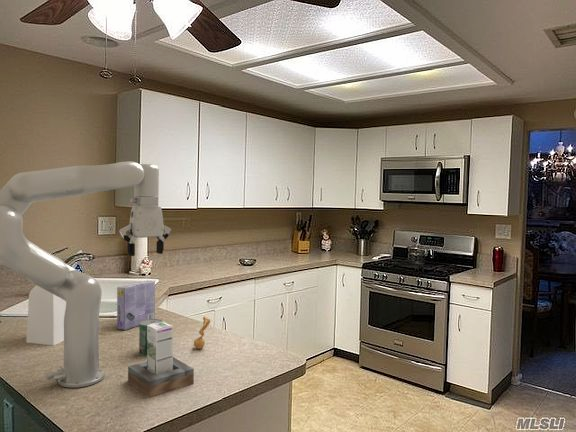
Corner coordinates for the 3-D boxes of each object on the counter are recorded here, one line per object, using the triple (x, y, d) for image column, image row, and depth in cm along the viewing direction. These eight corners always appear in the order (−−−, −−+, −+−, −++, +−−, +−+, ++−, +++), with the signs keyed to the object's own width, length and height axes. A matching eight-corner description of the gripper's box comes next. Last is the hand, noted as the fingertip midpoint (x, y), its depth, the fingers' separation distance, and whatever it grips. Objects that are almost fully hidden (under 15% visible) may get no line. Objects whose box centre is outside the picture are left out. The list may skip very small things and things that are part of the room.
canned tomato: (155, 357, 152) (156, 326, 151) (134, 355, 153) (134, 324, 153) (166, 349, 160) (166, 319, 159) (145, 347, 161) (146, 318, 160)
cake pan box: (148, 318, 199) (149, 279, 198) (157, 319, 197) (157, 280, 196) (115, 329, 182) (115, 286, 181) (124, 331, 180) (125, 288, 179)
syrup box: (173, 372, 132) (174, 325, 131) (155, 378, 128) (155, 328, 127) (163, 367, 136) (164, 320, 135) (145, 372, 132) (146, 324, 131)
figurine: (197, 344, 166) (198, 312, 165) (213, 345, 165) (213, 313, 165) (190, 352, 158) (190, 318, 157) (206, 353, 157) (206, 319, 156)
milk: (53, 345, 161) (53, 274, 160) (26, 342, 163) (26, 272, 162) (75, 335, 173) (75, 269, 172) (50, 332, 175) (50, 267, 174)
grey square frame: (149, 397, 122) (149, 381, 122) (127, 381, 132) (128, 366, 132) (193, 383, 132) (193, 368, 131) (170, 369, 142) (170, 355, 142)
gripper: (125, 202, 135) (124, 257, 136) (176, 202, 147) (175, 253, 148) (115, 201, 141) (115, 255, 141) (165, 202, 153) (164, 251, 153)
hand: (145, 254), depth 145 cm, fingers open, 9 cm apart
